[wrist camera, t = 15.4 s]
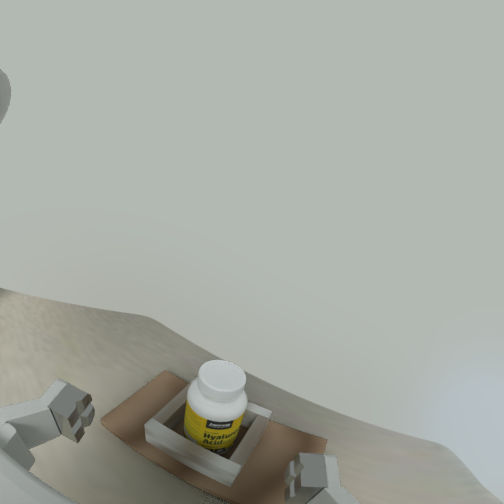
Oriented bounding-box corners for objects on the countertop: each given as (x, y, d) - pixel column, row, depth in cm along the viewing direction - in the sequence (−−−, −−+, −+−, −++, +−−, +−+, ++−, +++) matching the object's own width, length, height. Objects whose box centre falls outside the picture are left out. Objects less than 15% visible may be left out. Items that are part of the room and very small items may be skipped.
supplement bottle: (198, 463, 20) (208, 403, 18) (174, 425, 24) (178, 359, 22) (244, 447, 23) (267, 385, 21) (218, 413, 28) (232, 349, 25)
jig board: (101, 424, 22) (96, 401, 21) (164, 375, 33) (165, 352, 32) (296, 525, 15) (312, 513, 14) (324, 444, 26) (337, 424, 25)
